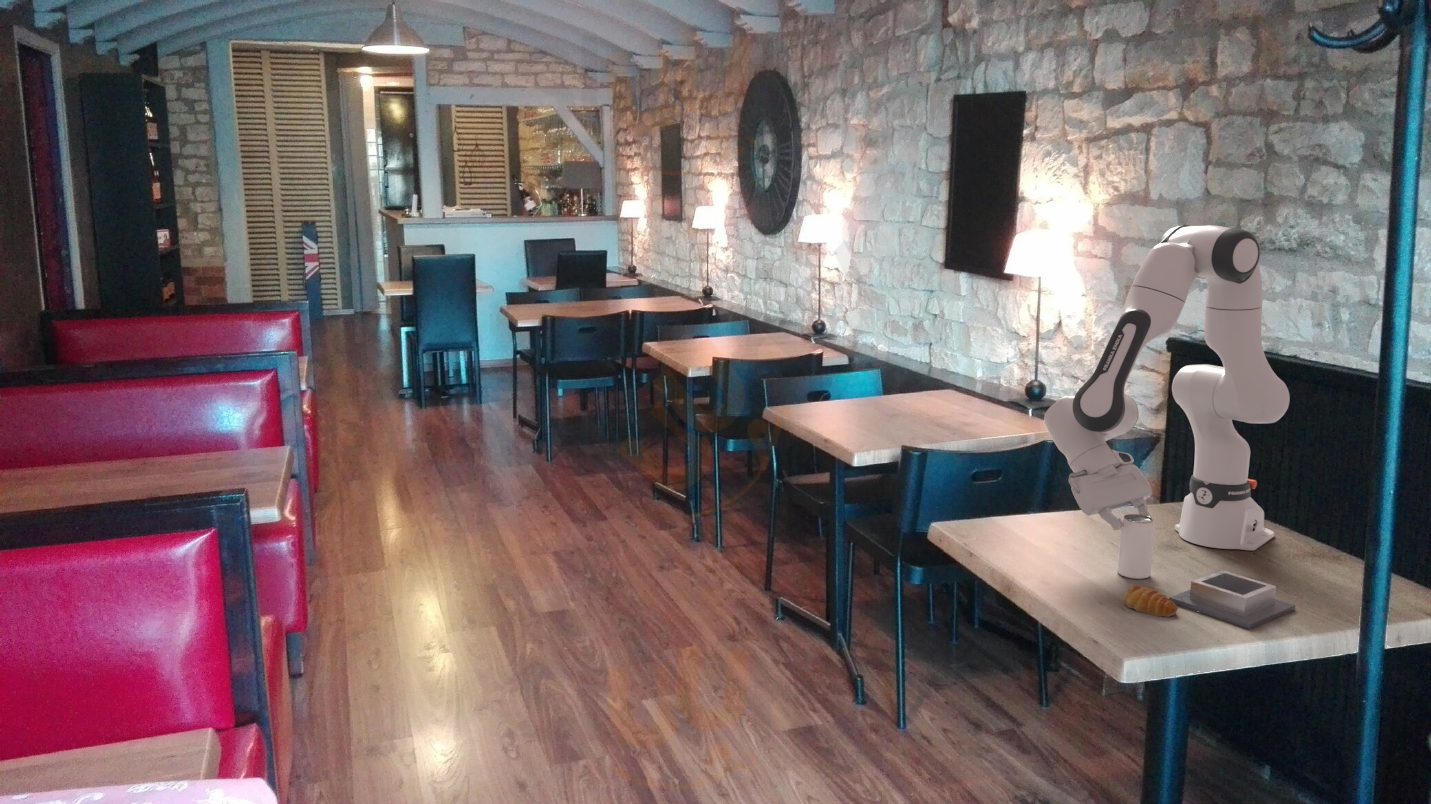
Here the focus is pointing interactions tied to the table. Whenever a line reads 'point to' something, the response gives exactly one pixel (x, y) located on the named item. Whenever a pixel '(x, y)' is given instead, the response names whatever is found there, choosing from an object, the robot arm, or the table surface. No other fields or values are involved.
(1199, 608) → the collar
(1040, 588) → the table surface
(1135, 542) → the can
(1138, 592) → the pastry
